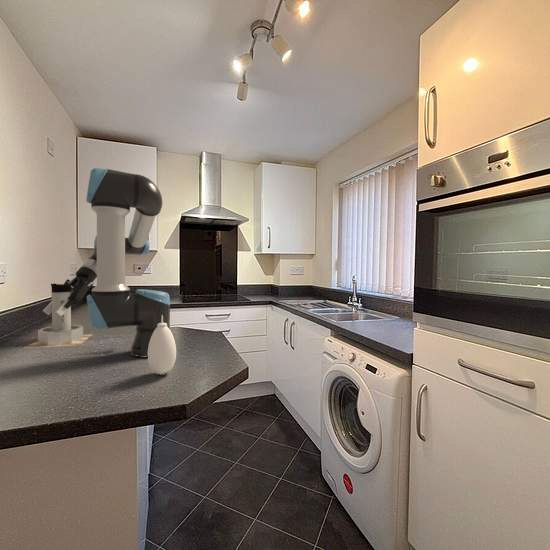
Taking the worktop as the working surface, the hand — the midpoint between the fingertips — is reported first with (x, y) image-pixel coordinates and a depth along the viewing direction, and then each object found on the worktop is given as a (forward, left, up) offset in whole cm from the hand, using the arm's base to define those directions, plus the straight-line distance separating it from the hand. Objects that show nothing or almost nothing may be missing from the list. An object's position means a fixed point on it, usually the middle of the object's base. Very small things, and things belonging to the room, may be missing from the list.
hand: (52, 313), depth 116 cm
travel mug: (+3, -2, -9) cm, 9 cm away
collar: (+3, -2, -12) cm, 12 cm away
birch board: (+3, -2, -13) cm, 13 cm away
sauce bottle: (-43, -44, -13) cm, 63 cm away
